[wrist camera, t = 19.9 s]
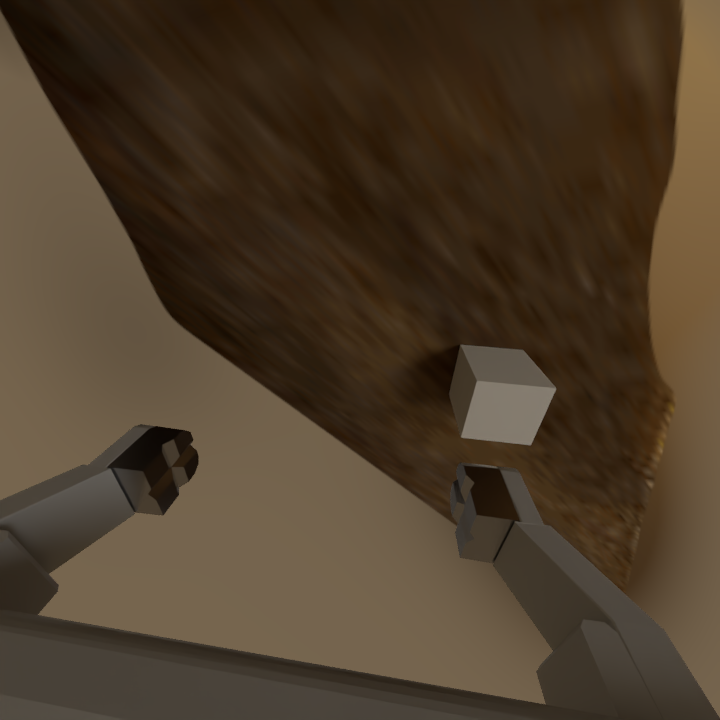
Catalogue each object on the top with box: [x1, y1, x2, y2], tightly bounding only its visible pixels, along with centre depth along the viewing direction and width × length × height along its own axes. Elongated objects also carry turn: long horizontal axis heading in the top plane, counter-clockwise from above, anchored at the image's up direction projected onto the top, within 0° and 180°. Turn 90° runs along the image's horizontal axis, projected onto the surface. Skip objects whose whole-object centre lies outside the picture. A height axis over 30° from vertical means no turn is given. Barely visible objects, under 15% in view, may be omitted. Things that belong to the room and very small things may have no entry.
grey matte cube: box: [449, 345, 556, 445], centre depth 31 cm, size 7×7×8 cm
